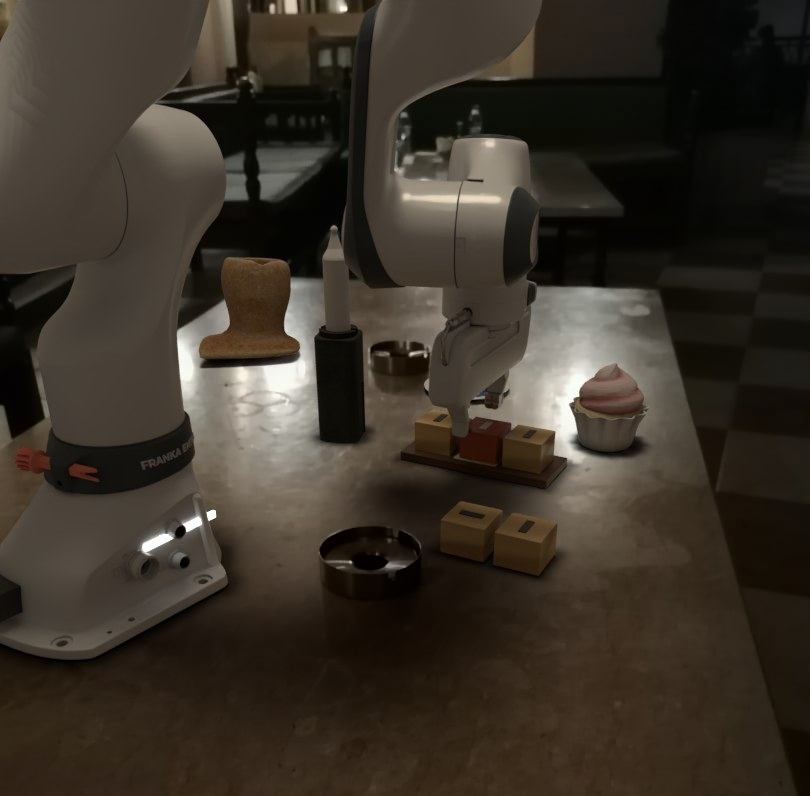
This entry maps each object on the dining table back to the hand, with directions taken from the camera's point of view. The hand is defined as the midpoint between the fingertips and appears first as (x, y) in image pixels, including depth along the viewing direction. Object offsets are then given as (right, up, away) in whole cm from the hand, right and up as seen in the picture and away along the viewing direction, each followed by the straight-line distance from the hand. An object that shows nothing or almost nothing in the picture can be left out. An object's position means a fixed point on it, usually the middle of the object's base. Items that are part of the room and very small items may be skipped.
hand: (478, 420), depth 103 cm
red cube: (+1, -4, +1) cm, 4 cm away
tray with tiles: (+1, -5, +2) cm, 5 cm away
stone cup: (-32, +15, +39) cm, 53 cm away
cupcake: (+16, -2, +7) cm, 17 cm away
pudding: (0, +7, +24) cm, 25 cm away
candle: (-16, -1, +10) cm, 19 cm away
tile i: (-2, -14, -16) cm, 21 cm away
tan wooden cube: (+3, -16, -18) cm, 24 cm away
